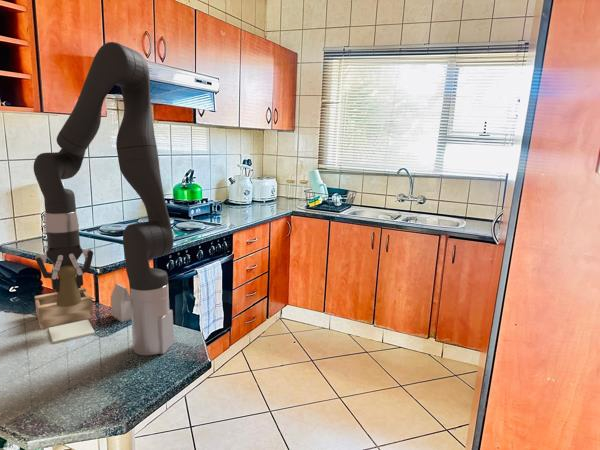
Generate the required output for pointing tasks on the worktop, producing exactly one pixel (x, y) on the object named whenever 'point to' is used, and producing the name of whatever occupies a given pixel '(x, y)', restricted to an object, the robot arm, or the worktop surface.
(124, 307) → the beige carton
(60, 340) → the cream mat
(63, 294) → the cork
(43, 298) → the open rectangular wooden frame
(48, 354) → the worktop surface
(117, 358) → the worktop surface
